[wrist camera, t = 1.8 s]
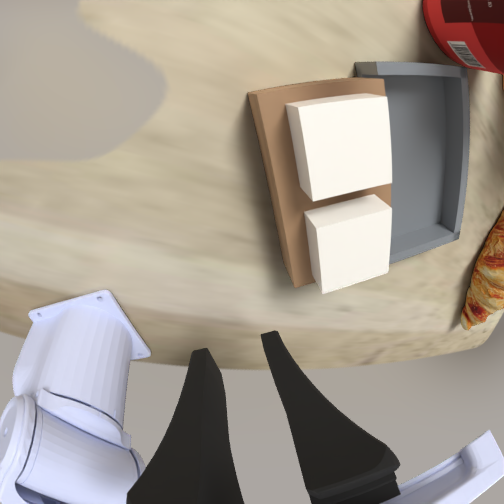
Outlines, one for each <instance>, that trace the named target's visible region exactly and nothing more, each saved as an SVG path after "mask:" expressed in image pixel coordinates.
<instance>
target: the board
mask: <svg viewBox="0 0 504 504" xmlns="http://www.w3.org/2000/svg"><path fill="white" fill-rule="evenodd" d="M363 93H368V94H374V95H380V96H386V94H385V86H384V79H378V78H363V77H353V78H341V79H330V80H321V81H313V82H305V83H298V84H292V85H285V86H279V87H274V88H268V89H263V90H258V91H253V92H248V97H249V102H250V106H251V110H252V115H253V119H254V123H255V128H256V132H257V137H258V141H259V145H260V150H261V155H262V159H263V164H264V168H265V173H266V178H267V182H268V187H269V192H270V197H271V202H272V206H273V211H274V216H275V221H276V226H277V231H278V236H279V241H280V246H281V252H282V257H283V262H284V264H285V267H286V269H287V271H288V274H289V276H290V278H291V280H292V283H293V285H294V287H295V288H297V287H300V286H304V285H307V284H311V283H314V282H316V281H315V279H314V277H313V275H312V270H311V261H310V253H309V245H308V238H307V230H306V223H305V216H304V212H305V211H308V210H312V209H316V208H320V207H324V206H328V205H332V204H336V203H340V202H344V201H348V200H352V199H356V198H360V197H364V196H368V195H373V194H375V195H376V196H377V197H378V198H380V199H381V200H382V201H384V202H385V203H386V204H387V205H389V206H390V207H391V183H389V184H385V185H380V186H376V187H371V188H367V189H363V190H359V191H354V192H350V193H346V194H342V195H338V196H334V197H330V198H325V199H321V200H317V201H312V200H311V199H310V198H309V196H308V195H307V194H306V193H305V192H304V191H303V190H302V188H301V187H300V183H299V176H298V170H297V164H296V159H295V153H294V147H293V142H292V136H291V131H290V125H289V120H288V115H287V110H286V105H285V104H288V103H293V102H299V101H306V100H312V99H319V98H326V97H334V96H343V95H352V94H363Z"/></svg>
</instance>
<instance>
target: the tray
mask: <svg viewBox="0 0 504 504" xmlns="http://www.w3.org/2000/svg"><path fill="white" fill-rule="evenodd" d="M355 66H356V72H357V77H363V78H378V79H384V86H385V94H386V97H387V100H388V110H389V121H390V135H391V154H392V183H391V208H392V224H391V243H390V257H389V264H391V263H394V262H397V261H400V260H403V259H406V258H409V257H411V256H414V255H417V254H420V253H422V252H425V251H428V250H431V249H433V248H436V247H439V246H441V245H444V244H447V243H449V242H452V241H455V240H457V239H459V235H460V229H461V223H462V217H463V210H464V203H465V195H466V187H467V176H468V163H469V142H470V109H469V89H468V76H467V68H465V67H458V66H450V65H441V64H429V63H414V62H355Z"/></svg>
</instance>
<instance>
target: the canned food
mask: <svg viewBox="0 0 504 504" xmlns="http://www.w3.org/2000/svg"><path fill="white" fill-rule="evenodd" d="M423 13H424V17H425V21H426V24H427V27H428V29H429V31H430V33H431V35H432V37H433V39H434V41H435V42H436V43H437V45H438V46H439V48H440V49H441V50H442V51H443V52H444V53H445V54H446V55H447V56H448V57H449V58H450V59H452V60H453V61H455V62H457V63H459V64H461V65H463V66H465V67H468V68H471V69H477V70H483V71H488V72H493V73H498V74H503V75H504V0H423Z"/></svg>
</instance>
